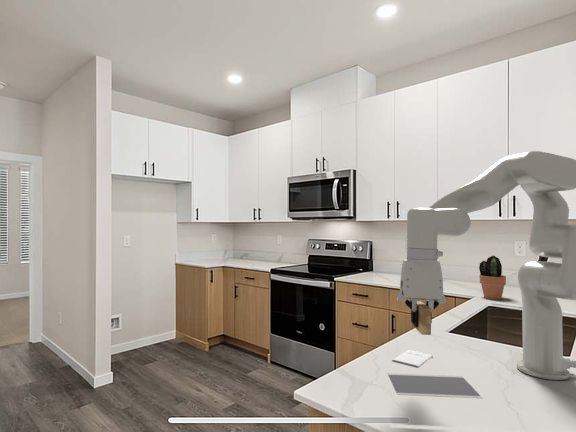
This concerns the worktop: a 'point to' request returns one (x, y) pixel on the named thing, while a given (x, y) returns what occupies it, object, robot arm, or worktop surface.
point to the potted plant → (492, 278)
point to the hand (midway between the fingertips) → (421, 325)
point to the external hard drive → (413, 358)
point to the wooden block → (424, 318)
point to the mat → (432, 385)
